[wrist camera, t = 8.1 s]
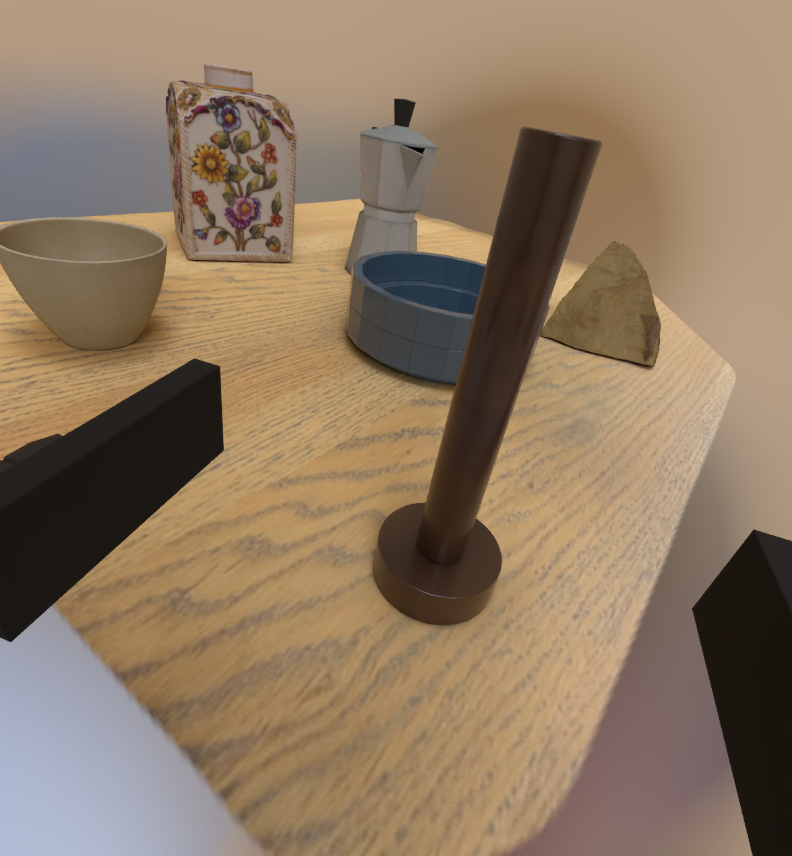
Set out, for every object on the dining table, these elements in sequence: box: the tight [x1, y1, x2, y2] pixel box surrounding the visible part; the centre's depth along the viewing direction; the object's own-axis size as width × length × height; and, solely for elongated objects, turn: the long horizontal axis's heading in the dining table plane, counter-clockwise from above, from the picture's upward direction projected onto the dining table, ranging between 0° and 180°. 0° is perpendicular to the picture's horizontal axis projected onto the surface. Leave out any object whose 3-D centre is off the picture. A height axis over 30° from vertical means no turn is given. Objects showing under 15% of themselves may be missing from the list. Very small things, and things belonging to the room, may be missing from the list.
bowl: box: [346, 251, 549, 384], centre depth 43 cm, size 17×17×6 cm
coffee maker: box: [345, 99, 438, 274], centre depth 56 cm, size 15×9×18 cm, turn 22°
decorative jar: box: [166, 63, 296, 262], centre depth 55 cm, size 12×12×18 cm
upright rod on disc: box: [373, 127, 602, 625], centre depth 18 cm, size 6×6×18 cm
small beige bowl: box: [0, 217, 167, 350], centre depth 35 cm, size 10×10×7 cm
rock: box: [540, 241, 661, 366], centre depth 48 cm, size 11×9×10 cm
